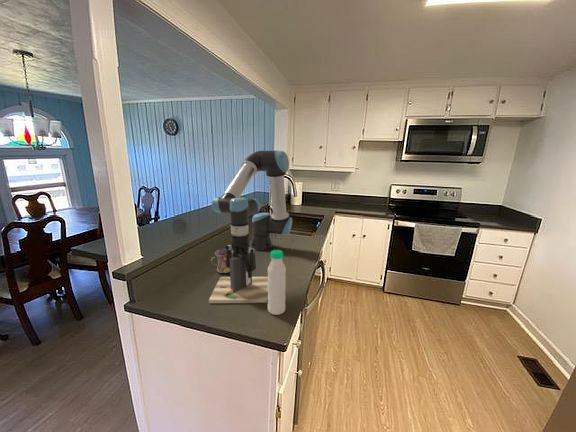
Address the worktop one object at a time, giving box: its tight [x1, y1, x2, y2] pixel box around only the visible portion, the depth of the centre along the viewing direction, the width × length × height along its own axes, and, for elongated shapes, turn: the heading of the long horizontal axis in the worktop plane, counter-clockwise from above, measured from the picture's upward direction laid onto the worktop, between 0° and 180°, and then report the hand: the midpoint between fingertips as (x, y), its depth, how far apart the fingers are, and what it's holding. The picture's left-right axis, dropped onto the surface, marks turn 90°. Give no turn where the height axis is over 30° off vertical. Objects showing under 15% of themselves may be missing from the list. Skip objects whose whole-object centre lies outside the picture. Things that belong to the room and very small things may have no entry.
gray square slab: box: [224, 251, 253, 295], centre depth 105 cm, size 3×14×15 cm, turn 140°
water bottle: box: [267, 249, 287, 316], centre depth 92 cm, size 7×7×25 cm
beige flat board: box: [208, 276, 268, 304], centre depth 109 cm, size 20×24×2 cm
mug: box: [210, 248, 234, 274], centre depth 126 cm, size 12×9×11 cm
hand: (241, 282), depth 108 cm, fingers open, 6 cm apart
